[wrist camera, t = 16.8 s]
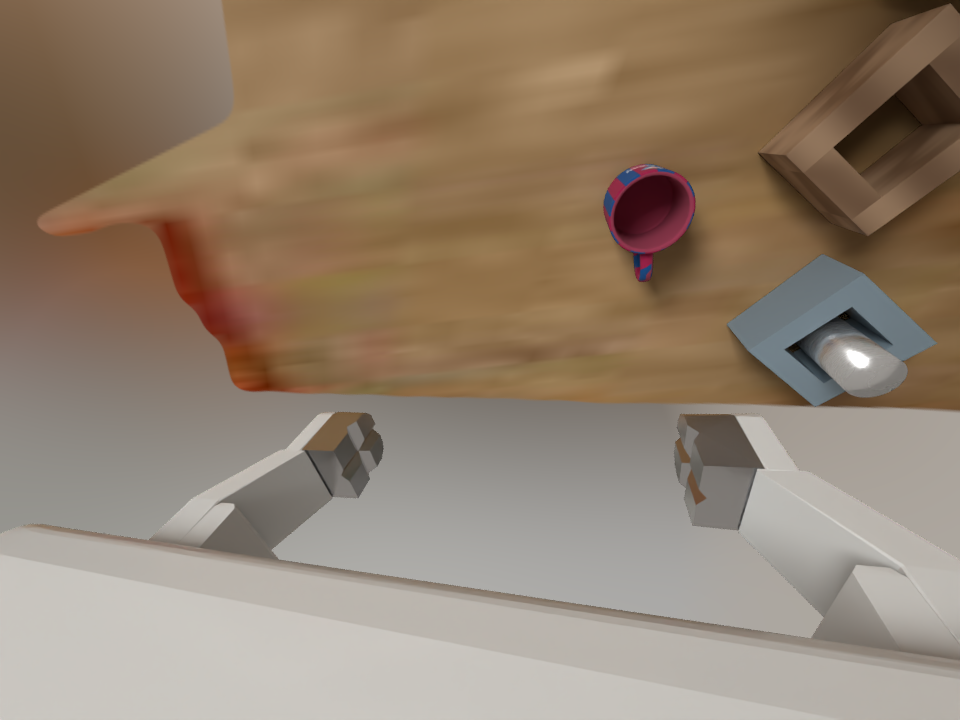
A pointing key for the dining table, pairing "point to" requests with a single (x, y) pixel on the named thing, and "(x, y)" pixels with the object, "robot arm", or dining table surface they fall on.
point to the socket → (810, 306)
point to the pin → (853, 359)
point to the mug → (648, 212)
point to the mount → (856, 95)
